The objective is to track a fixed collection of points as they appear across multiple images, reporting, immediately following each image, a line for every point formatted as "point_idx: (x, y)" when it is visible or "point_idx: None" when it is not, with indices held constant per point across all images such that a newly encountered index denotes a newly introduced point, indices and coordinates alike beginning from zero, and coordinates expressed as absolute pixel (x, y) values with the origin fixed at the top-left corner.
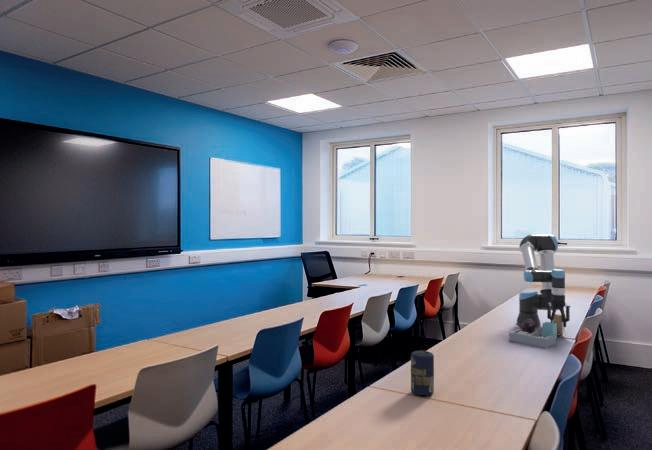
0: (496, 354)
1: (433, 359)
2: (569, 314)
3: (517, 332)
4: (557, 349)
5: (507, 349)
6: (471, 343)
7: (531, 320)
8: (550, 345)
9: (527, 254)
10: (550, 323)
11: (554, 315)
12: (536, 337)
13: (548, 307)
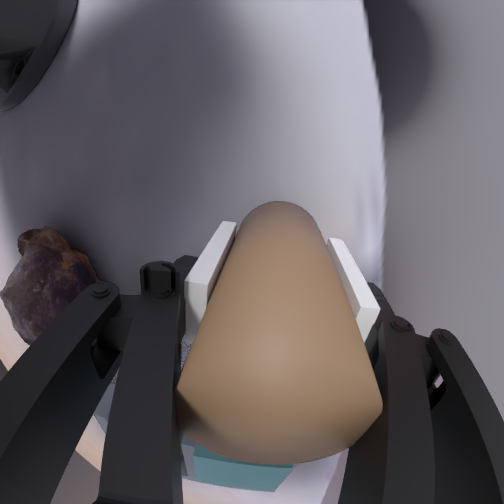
0: (193, 493)
1: None
2: (497, 416)
3: None
4: (313, 462)
5: (188, 480)
6: (102, 454)
7: (36, 338)
8: None
9: None
10: (246, 478)
11: (210, 444)
12: (233, 487)
13: (30, 502)
